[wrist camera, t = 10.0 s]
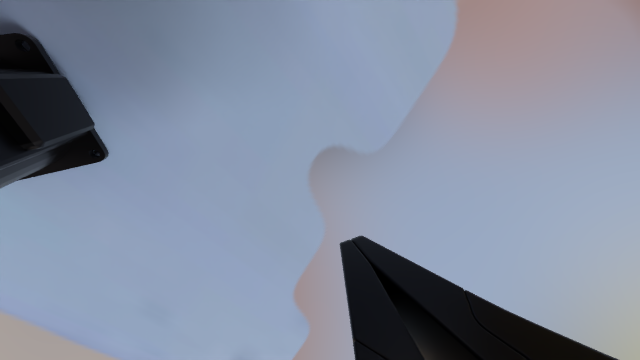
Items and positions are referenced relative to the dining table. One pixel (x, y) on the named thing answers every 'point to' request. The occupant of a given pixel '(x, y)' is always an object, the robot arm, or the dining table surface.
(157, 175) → the dining table surface
